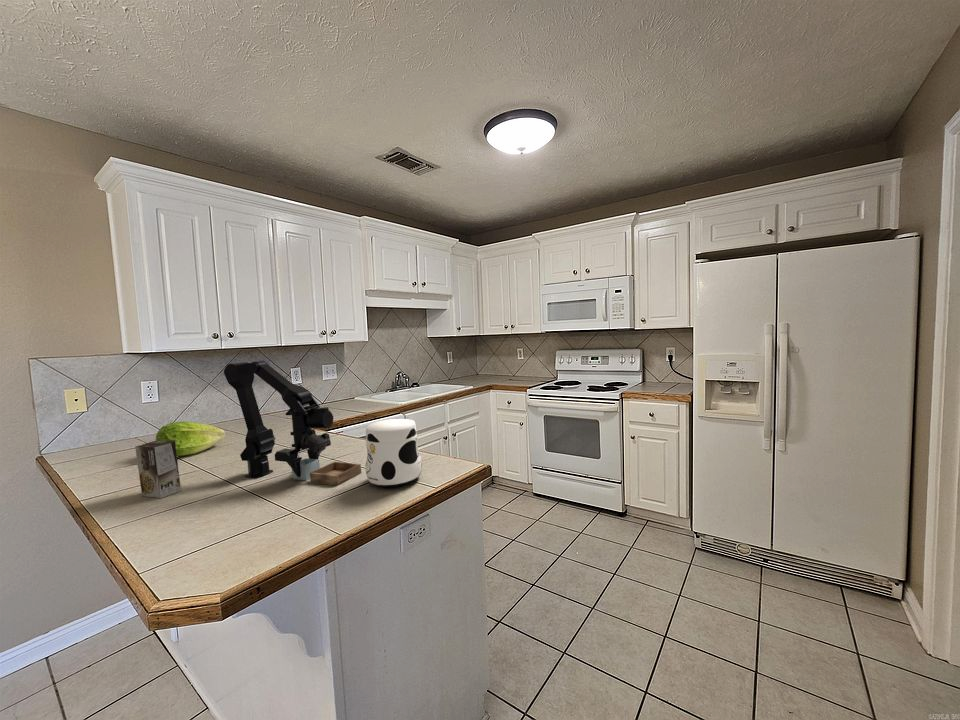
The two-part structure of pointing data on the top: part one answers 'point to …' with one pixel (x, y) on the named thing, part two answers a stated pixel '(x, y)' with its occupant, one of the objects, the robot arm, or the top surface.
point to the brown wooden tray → (335, 473)
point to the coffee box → (158, 468)
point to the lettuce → (190, 436)
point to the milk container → (392, 452)
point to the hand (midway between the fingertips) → (306, 473)
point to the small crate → (307, 468)
